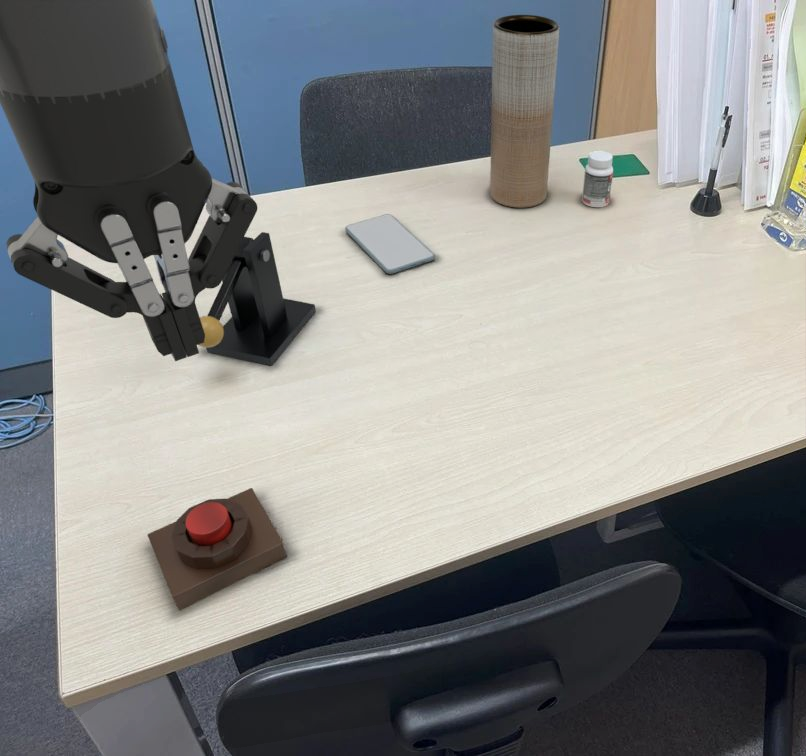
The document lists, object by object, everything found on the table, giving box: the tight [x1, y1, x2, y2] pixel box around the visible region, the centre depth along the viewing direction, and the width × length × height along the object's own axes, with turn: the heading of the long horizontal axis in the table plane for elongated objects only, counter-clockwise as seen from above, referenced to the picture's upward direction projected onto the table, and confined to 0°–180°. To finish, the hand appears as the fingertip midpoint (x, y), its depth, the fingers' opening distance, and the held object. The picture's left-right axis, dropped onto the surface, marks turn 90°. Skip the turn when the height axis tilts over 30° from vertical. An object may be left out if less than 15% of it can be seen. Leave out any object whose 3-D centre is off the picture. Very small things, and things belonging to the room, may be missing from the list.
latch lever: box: [198, 236, 254, 348], centre depth 82 cm, size 14×4×4 cm, turn 165°
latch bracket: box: [205, 231, 317, 367], centre depth 88 cm, size 12×9×14 cm
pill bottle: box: [581, 150, 614, 208], centre depth 119 cm, size 5×5×8 cm
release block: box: [147, 487, 288, 611], centre depth 65 cm, size 10×8×4 cm
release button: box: [185, 502, 232, 546], centre depth 64 cm, size 4×4×2 cm
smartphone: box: [344, 213, 436, 275], centre depth 109 cm, size 8×1×15 cm
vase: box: [489, 14, 560, 209], centre depth 114 cm, size 10×10×28 cm
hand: (182, 350), depth 44 cm, fingers closed
